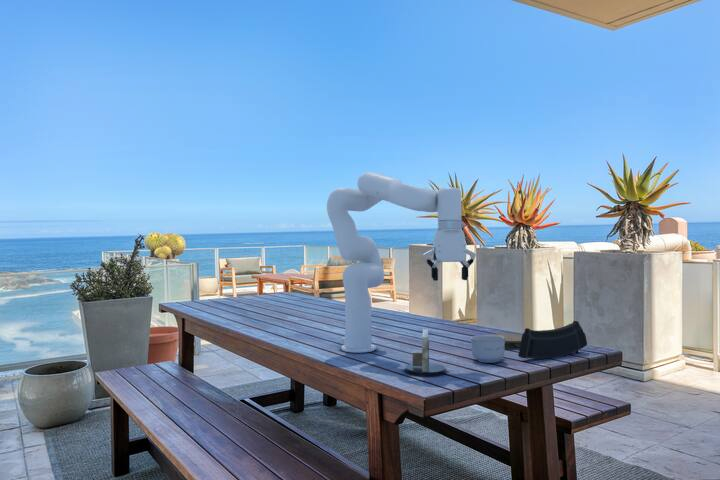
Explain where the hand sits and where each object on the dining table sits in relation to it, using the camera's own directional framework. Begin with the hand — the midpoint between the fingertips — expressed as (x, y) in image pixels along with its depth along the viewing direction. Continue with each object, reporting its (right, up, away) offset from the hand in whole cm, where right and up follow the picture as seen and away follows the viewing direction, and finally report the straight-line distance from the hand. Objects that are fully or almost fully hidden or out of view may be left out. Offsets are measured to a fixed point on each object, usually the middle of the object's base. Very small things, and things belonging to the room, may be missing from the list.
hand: (449, 280), depth 160 cm
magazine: (+37, -27, +11) cm, 48 cm away
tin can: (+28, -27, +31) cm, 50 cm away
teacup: (+14, -27, +5) cm, 31 cm away
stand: (-9, -27, -9) cm, 30 cm away
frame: (-10, -25, -9) cm, 29 cm away
